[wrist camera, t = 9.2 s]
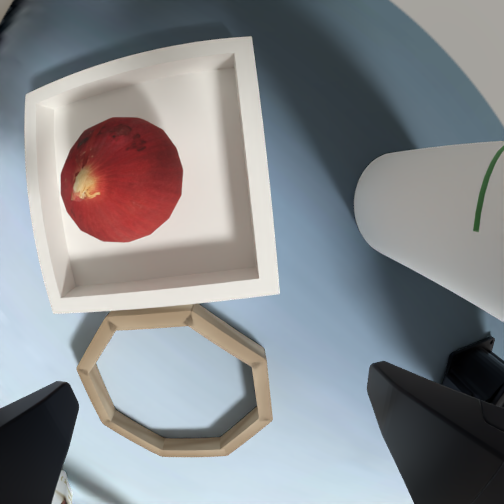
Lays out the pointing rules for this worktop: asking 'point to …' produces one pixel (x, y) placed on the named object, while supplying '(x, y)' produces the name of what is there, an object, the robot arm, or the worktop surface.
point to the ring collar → (209, 329)
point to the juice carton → (63, 490)
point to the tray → (193, 185)
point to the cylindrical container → (440, 216)
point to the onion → (121, 179)
